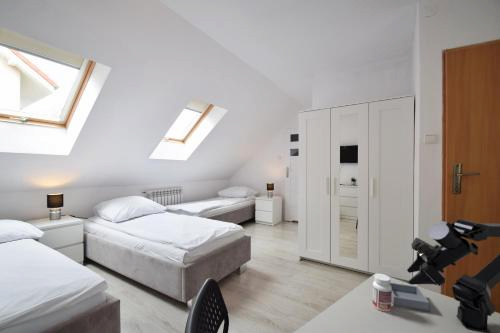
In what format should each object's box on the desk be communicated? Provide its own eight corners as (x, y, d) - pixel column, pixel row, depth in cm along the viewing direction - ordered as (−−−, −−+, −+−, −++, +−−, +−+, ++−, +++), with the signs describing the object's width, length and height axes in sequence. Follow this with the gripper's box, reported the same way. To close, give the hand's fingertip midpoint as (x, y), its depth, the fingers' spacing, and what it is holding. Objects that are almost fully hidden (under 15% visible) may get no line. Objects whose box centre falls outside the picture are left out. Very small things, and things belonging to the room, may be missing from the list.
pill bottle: (394, 308, 88) (395, 278, 88) (385, 314, 85) (386, 283, 84) (377, 300, 94) (378, 271, 93) (368, 305, 90) (369, 275, 90)
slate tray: (417, 294, 97) (417, 286, 97) (428, 312, 87) (429, 302, 86) (386, 290, 100) (386, 281, 100) (393, 306, 90) (393, 296, 90)
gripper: (425, 225, 89) (390, 248, 95) (432, 241, 73) (390, 268, 79) (452, 250, 86) (413, 273, 92) (465, 272, 70) (418, 298, 76)
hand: (408, 277), depth 85 cm, fingers open, 9 cm apart
